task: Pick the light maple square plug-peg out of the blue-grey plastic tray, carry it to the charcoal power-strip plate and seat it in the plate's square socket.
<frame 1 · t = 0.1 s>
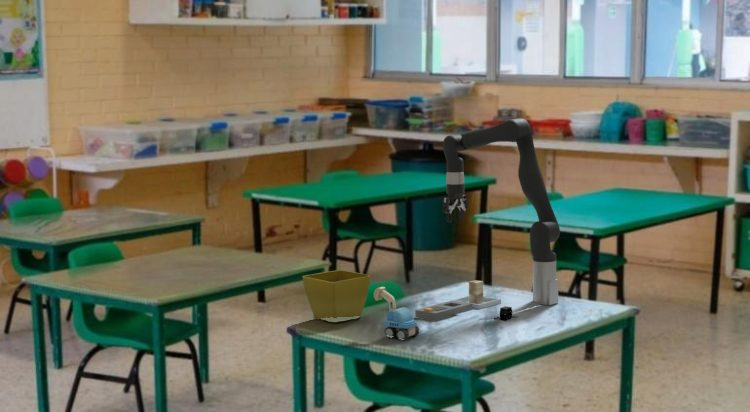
hand: (455, 221, 526), 29 cm above the table, fingers open, 8 cm apart
plug peg: (476, 303, 496), point 1 cm above the table, touching tray
toy excavator: (395, 336, 448), on the table
black block: (506, 319, 474), on the table
flower pot: (337, 319, 477), on the table
power strip: (443, 314, 482), on the table
tray: (476, 305, 496), on the table
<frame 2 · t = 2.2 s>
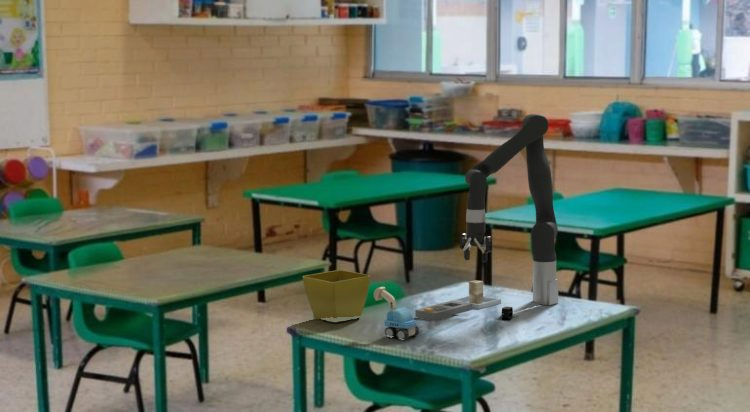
hand: (475, 261, 494), 18 cm above the table, fingers open, 8 cm apart
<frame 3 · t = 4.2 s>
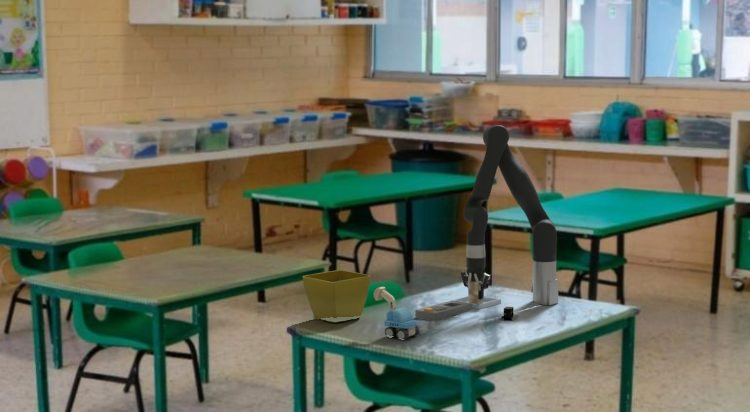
hand: (476, 298, 496), 3 cm above the table, fingers closed on plug peg, 4 cm apart
plug peg: (476, 303, 496), point 1 cm above the table, touching gripper, tray
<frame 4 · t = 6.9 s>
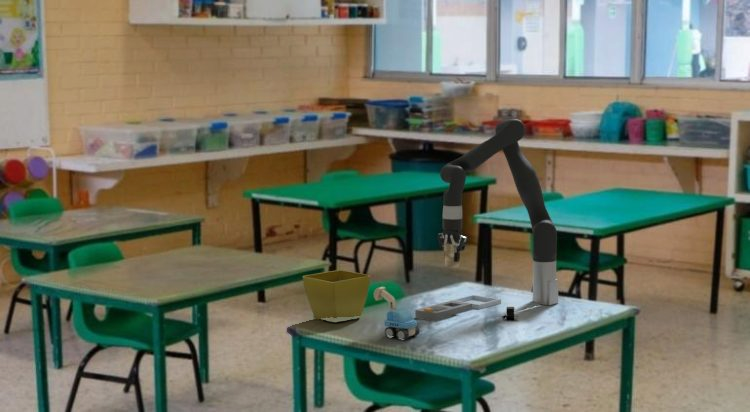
hand: (451, 260, 484), 20 cm above the table, fingers closed on plug peg, 4 cm apart
plug peg: (452, 266, 485), point 18 cm above the table, touching gripper
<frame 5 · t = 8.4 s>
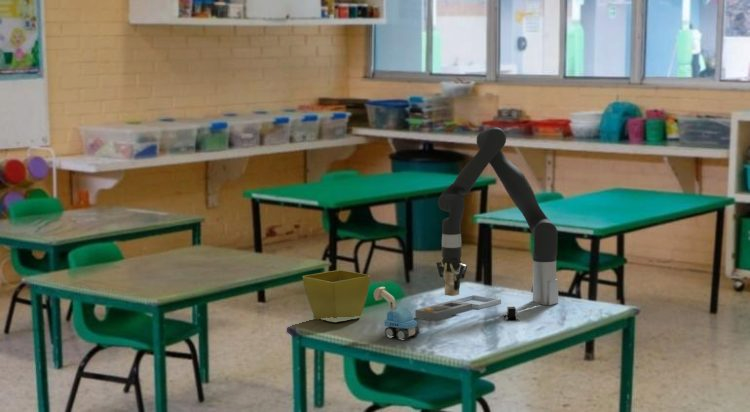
hand: (451, 288, 484), 9 cm above the table, fingers closed on plug peg, 4 cm apart
plug peg: (452, 294, 485), point 7 cm above the table, touching gripper
when the fingers open (4 cm above the table, at t = 9.8 s): plug peg drops 2 cm, resting in power strip.
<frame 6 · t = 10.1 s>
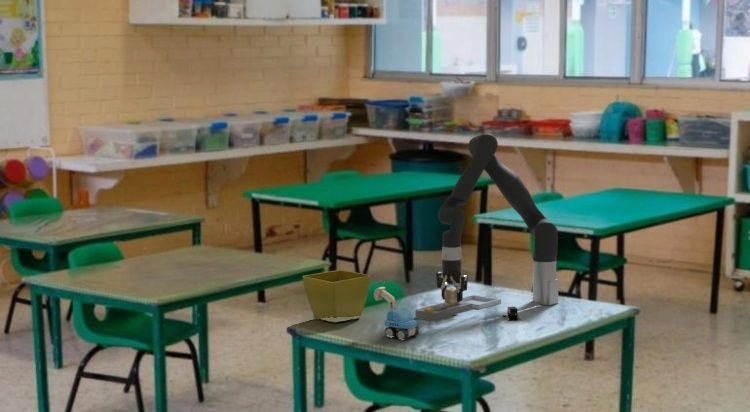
hand: (452, 300, 485), 5 cm above the table, fingers open, 6 cm apart
plug peg: (452, 312, 486), resting in power strip
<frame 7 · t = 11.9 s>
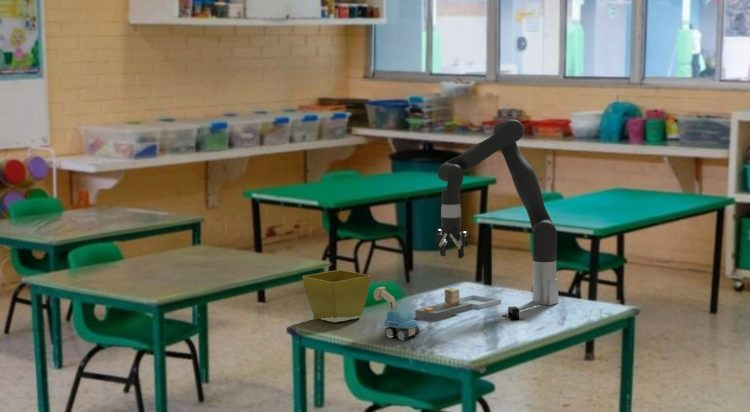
hand: (451, 257, 484), 21 cm above the table, fingers open, 8 cm apart
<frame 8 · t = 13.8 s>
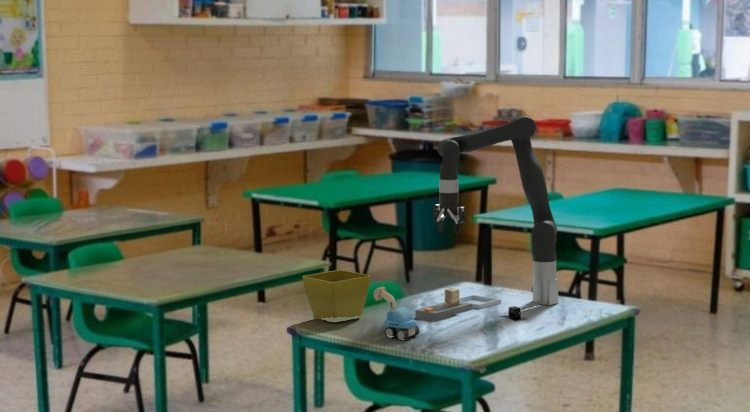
hand: (449, 232, 490), 30 cm above the table, fingers open, 8 cm apart
at the end: plug peg 0.0 cm from the target spot on the power strip, point 0.0 cm above the power strip's base; plug peg tilted 0°; the gripper is holding nothing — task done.
